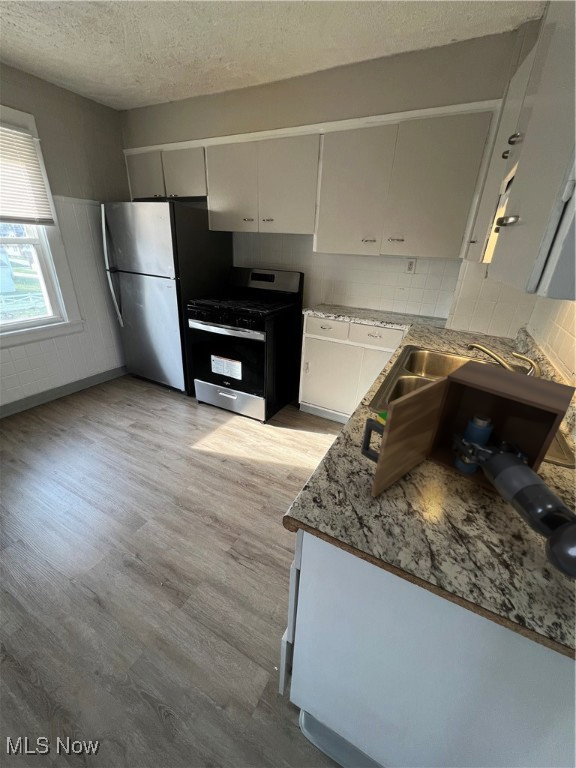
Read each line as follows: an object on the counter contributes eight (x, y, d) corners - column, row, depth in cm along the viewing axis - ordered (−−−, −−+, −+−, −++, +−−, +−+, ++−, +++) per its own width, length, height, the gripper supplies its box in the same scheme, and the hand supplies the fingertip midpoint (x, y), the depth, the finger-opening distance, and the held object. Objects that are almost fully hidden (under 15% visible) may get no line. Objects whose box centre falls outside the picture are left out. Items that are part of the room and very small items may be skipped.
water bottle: (479, 467, 79) (498, 418, 73) (472, 476, 76) (492, 426, 69) (458, 457, 82) (474, 409, 76) (450, 466, 79) (467, 417, 73)
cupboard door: (350, 480, 74) (365, 391, 64) (402, 446, 87) (420, 368, 77) (374, 497, 69) (394, 404, 59) (424, 459, 82) (448, 377, 72)
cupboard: (521, 505, 69) (566, 411, 59) (424, 457, 83) (447, 375, 73) (535, 472, 80) (576, 387, 69) (447, 434, 94) (470, 359, 83)
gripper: (558, 467, 60) (506, 422, 75) (485, 465, 60) (447, 420, 75) (543, 496, 64) (496, 447, 78) (474, 494, 63) (439, 445, 78)
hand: (472, 434), depth 77 cm, fingers open, 8 cm apart
